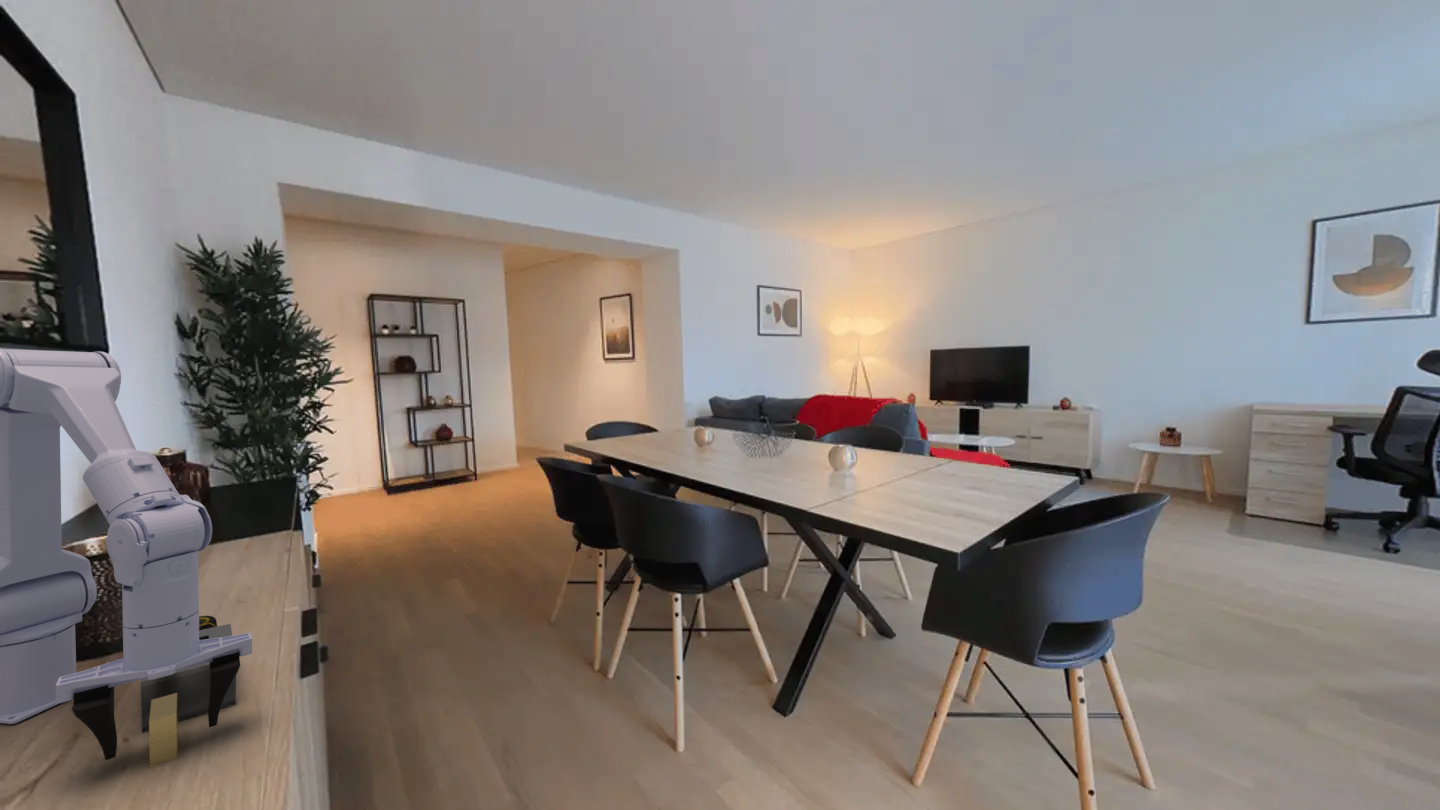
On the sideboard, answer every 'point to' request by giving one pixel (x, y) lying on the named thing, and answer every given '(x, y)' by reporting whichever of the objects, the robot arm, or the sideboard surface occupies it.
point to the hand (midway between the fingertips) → (164, 737)
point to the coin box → (187, 686)
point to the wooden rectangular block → (163, 729)
